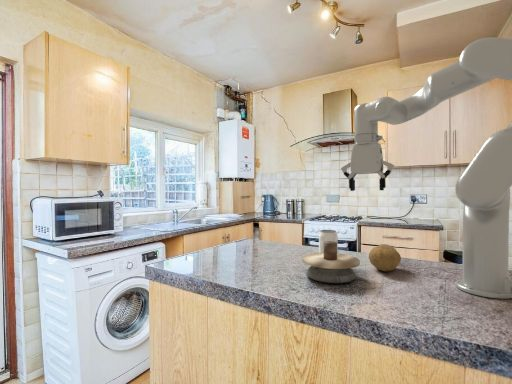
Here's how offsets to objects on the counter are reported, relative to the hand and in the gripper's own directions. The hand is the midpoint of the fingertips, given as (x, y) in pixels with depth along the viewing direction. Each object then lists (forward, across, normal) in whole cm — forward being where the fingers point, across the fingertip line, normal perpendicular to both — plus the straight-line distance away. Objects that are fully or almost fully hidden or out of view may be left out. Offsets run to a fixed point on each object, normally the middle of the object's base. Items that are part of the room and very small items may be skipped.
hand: (366, 190), depth 99 cm
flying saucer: (+27, +6, +18) cm, 33 cm away
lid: (+21, +6, +18) cm, 29 cm away
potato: (+27, -5, +1) cm, 27 cm away
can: (+26, +13, +4) cm, 30 cm away
